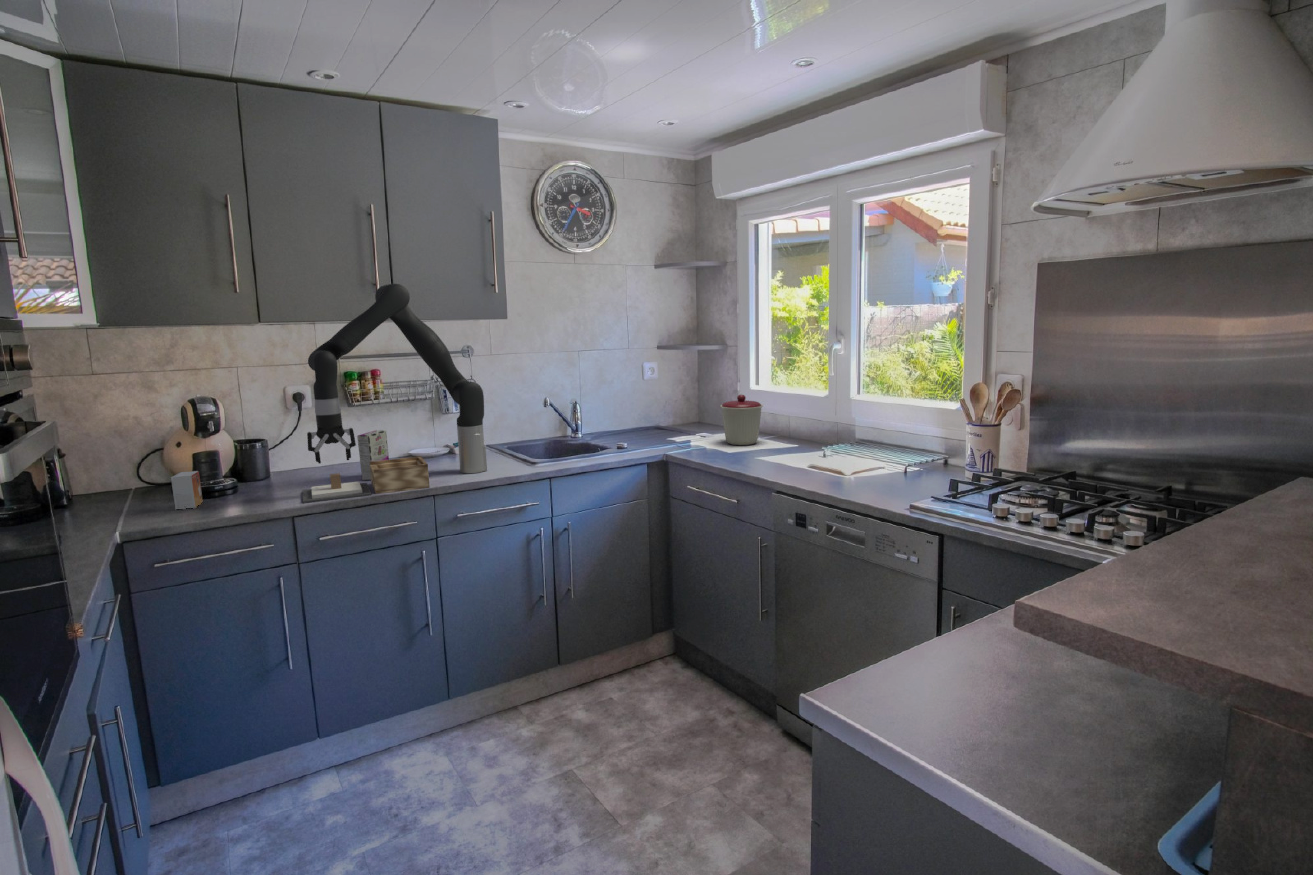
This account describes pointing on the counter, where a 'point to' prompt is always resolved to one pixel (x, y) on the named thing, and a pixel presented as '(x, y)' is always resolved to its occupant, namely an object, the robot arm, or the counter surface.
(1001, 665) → the counter surface
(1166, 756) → the counter surface
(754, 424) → the canister
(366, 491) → the rubber mat
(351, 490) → the cover plate
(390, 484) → the wooden box
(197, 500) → the small box
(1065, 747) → the counter surface
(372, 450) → the candy bar box
